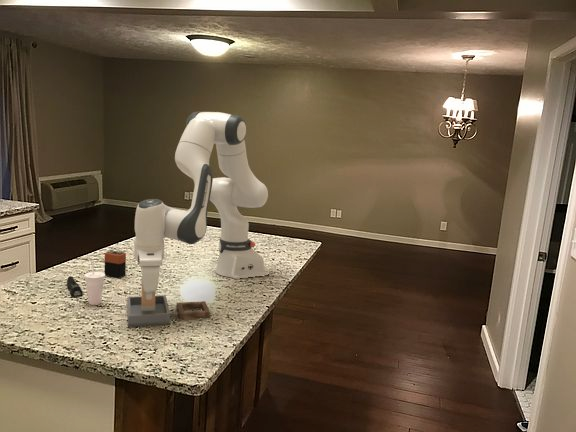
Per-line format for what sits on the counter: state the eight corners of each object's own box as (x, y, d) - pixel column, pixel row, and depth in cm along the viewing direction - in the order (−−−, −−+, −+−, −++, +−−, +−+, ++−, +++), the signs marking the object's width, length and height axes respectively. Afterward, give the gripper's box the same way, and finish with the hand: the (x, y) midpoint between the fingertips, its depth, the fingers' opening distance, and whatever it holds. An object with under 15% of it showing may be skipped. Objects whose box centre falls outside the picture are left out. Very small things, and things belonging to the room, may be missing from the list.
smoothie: (87, 299, 162) (87, 258, 159) (107, 299, 162) (107, 259, 160) (81, 306, 155) (81, 264, 153) (102, 306, 156) (102, 265, 153)
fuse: (154, 305, 154) (154, 275, 152) (155, 310, 150) (155, 279, 149) (141, 306, 153) (141, 275, 151) (141, 310, 149) (142, 279, 147)
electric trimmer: (76, 283, 177) (76, 275, 176) (83, 297, 164) (83, 288, 163) (64, 284, 175) (64, 276, 174) (71, 298, 162) (71, 289, 161)
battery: (119, 278, 184) (119, 253, 182) (103, 275, 185) (104, 250, 184) (126, 275, 188) (126, 250, 186) (110, 272, 190) (110, 248, 188)
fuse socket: (205, 306, 163) (205, 301, 162) (209, 318, 154) (210, 312, 153) (176, 308, 159) (176, 302, 159) (179, 319, 151) (179, 313, 150)
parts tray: (165, 305, 161) (165, 295, 161) (169, 324, 147) (170, 313, 146) (127, 307, 157) (127, 296, 157) (127, 327, 143) (128, 316, 142)
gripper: (137, 244, 157) (136, 284, 159) (139, 262, 138) (138, 308, 140) (157, 243, 159) (156, 284, 162) (162, 262, 140) (161, 307, 143)
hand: (148, 295), depth 151 cm, fingers closed on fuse, 4 cm apart
